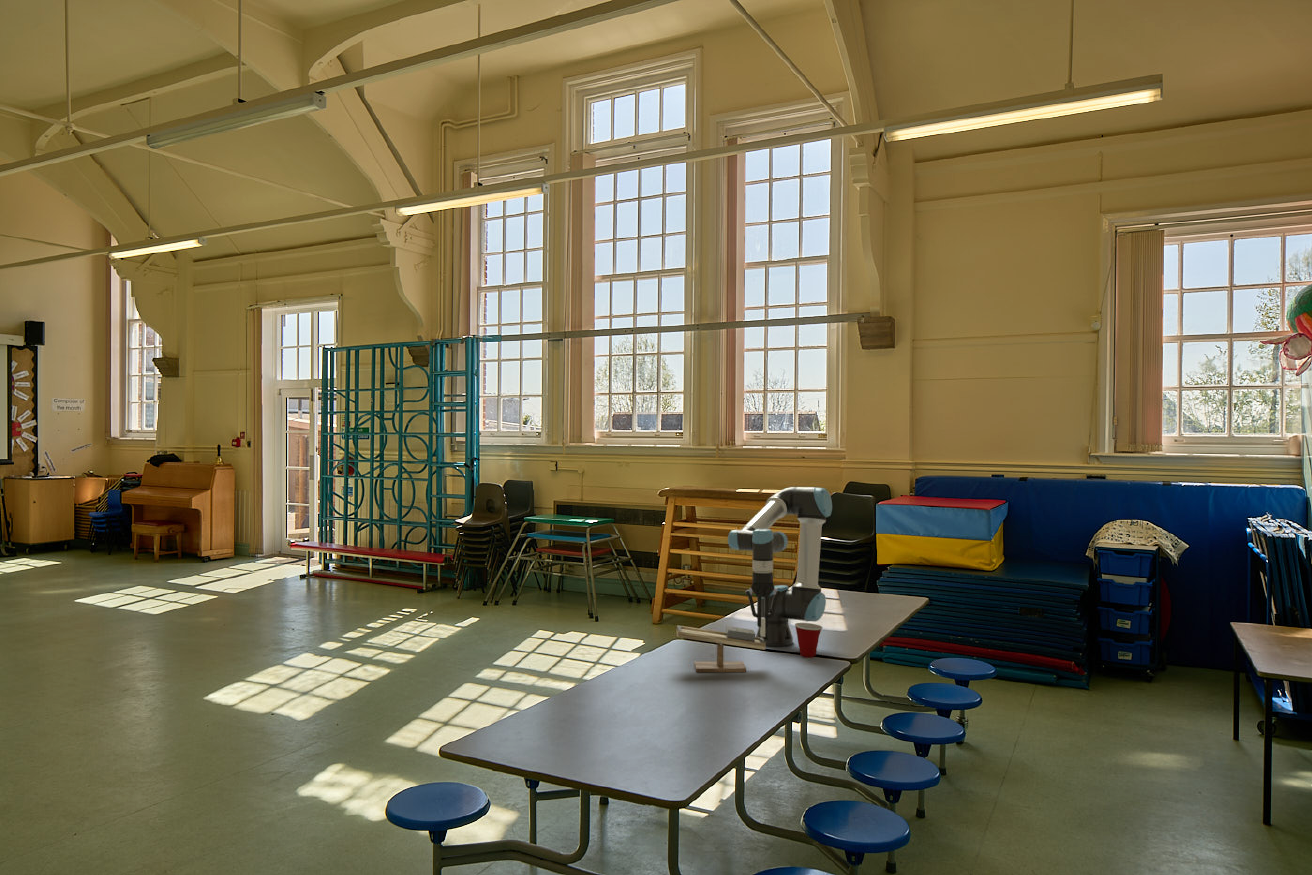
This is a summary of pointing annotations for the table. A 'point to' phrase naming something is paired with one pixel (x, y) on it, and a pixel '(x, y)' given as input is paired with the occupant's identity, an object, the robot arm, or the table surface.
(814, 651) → the plastic cup
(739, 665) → the seesaw stand
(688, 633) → the seesaw beam
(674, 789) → the table surface
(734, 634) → the iron block
